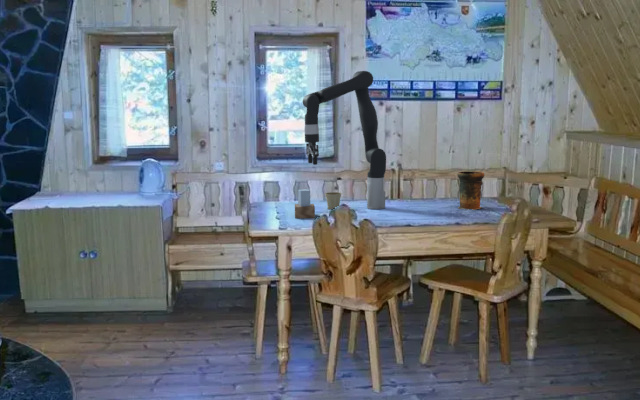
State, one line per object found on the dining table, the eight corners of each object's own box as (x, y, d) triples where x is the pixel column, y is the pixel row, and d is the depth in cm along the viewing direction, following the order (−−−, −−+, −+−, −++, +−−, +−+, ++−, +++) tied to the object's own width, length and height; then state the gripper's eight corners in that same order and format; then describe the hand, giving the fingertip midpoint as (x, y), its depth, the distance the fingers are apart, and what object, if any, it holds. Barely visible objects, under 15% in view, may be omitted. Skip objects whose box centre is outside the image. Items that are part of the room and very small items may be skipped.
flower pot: (321, 209, 351) (321, 193, 349) (329, 206, 359) (329, 191, 358) (337, 210, 347) (337, 195, 345) (344, 208, 355) (344, 192, 353)
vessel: (477, 211, 344) (477, 174, 341) (452, 208, 353) (453, 172, 350) (487, 207, 355) (488, 171, 353) (463, 205, 364) (464, 170, 361)
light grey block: (307, 204, 333) (307, 189, 332) (310, 205, 328) (310, 190, 327) (298, 205, 331) (298, 189, 330) (301, 206, 327) (300, 191, 325)
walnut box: (313, 215, 336) (313, 203, 335) (314, 218, 326) (314, 206, 325) (294, 215, 336) (294, 203, 335) (295, 218, 326) (295, 207, 325)
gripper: (322, 133, 330) (323, 164, 333) (314, 132, 344) (315, 162, 346) (308, 134, 328) (309, 165, 331) (301, 132, 341) (302, 162, 344)
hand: (312, 163), depth 338 cm, fingers open, 8 cm apart
